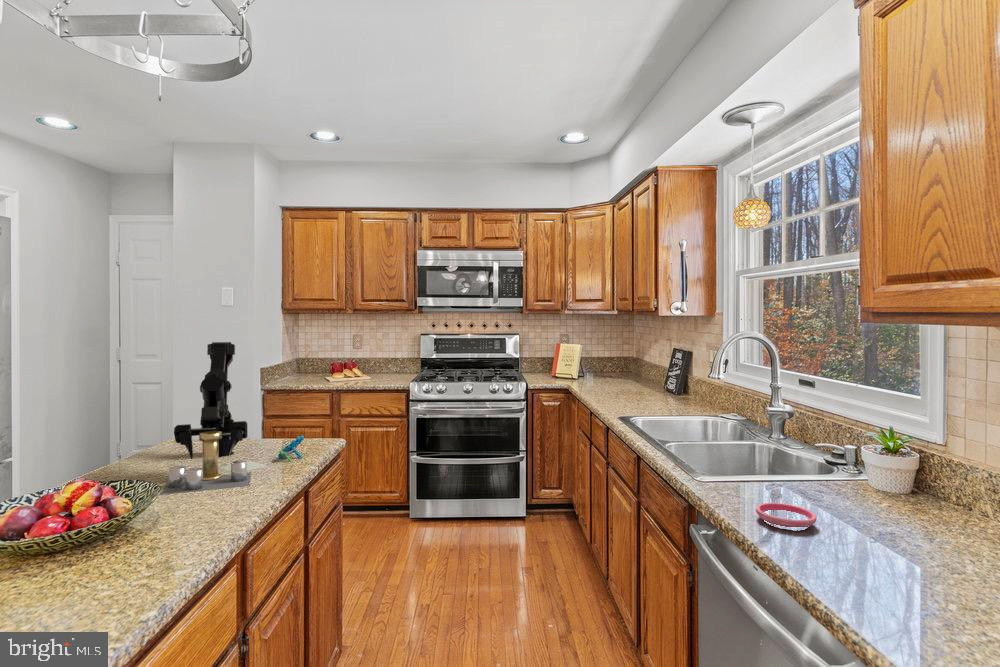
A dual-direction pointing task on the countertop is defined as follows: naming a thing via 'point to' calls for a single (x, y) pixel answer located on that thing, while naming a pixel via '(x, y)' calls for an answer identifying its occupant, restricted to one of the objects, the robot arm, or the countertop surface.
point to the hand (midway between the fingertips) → (210, 456)
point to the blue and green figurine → (291, 448)
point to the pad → (250, 466)
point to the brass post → (210, 454)
